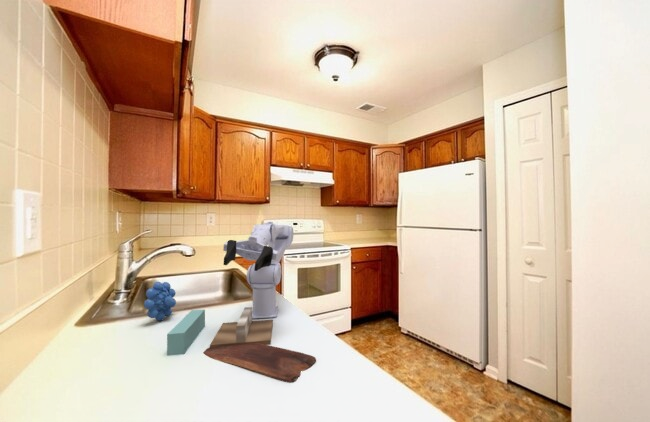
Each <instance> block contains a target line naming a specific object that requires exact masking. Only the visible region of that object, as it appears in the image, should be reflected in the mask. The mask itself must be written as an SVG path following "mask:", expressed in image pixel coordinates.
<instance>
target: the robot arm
mask: <svg viewBox="0 0 650 422" xmlns="http://www.w3.org/2000/svg"><path fill="white" fill-rule="evenodd" d="M293 241H294V227H293V226H292V225H288V224H287V225H285V224H276V223H274V222H273V221H268V222H264V224H254V225H253V229H252V231H251V234H250V236H249V237H248V238H247V239H243V240H234V239H229V240H228V241H226V242H224V244H223V249H222V250H223V252H225V256H224V258H223V266H228V265H229V263H231V262H232V261H235V260H236V257H237V256H236V255H238V256H239V257H241V258H243V259H245V260H248V261H250V262H251V261H255V263H253V264H251V265H249V267H248V268H247V271H246V282H247V283H248V285H249V286H250V288H252V320H253V319H254V320H255V319H266V318H267V319H268V318H277V317H278V309H279V308H278V306H277V291H276V289H277V285H279V284H280V282H281V276H282V266H281V263H280V262H281V259H282V258H283V256H284V254H285V252H286V249H287V248H289V247H290V246H291V245H292V243H293Z"/></svg>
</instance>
